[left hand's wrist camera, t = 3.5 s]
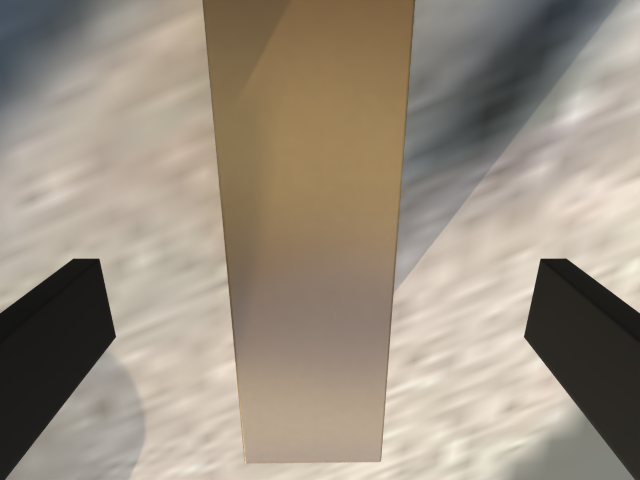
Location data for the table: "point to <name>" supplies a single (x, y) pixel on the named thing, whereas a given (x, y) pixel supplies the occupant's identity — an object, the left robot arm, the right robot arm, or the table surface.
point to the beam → (310, 214)
